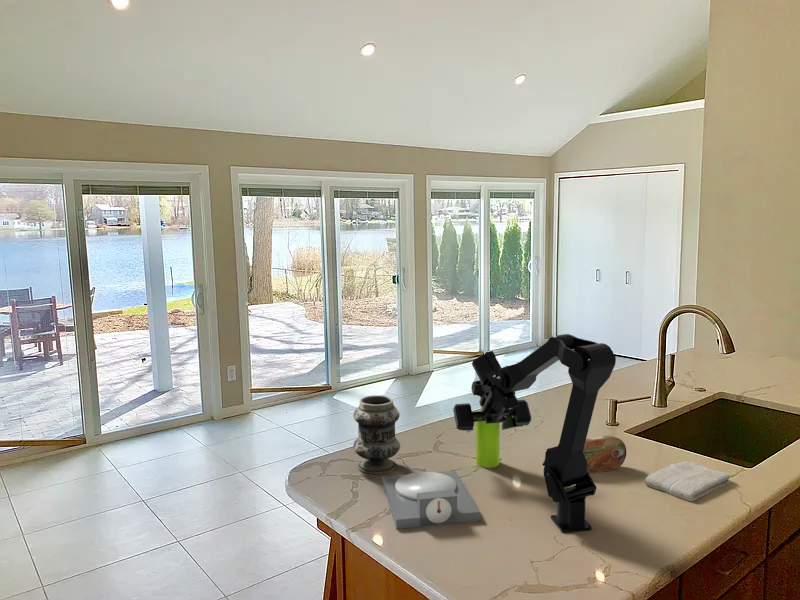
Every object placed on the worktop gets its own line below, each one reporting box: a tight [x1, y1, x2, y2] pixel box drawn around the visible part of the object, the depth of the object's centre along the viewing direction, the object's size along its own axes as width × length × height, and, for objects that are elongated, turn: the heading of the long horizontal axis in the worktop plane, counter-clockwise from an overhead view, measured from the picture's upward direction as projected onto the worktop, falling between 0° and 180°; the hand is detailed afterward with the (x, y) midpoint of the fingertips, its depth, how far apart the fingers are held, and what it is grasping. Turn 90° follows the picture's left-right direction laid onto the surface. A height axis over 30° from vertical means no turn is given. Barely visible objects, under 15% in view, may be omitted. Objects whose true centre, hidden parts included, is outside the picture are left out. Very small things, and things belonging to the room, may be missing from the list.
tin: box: [583, 435, 627, 475], centre depth 158 cm, size 15×3×8 cm, turn 105°
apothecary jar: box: [352, 394, 401, 475], centre depth 162 cm, size 12×12×18 cm
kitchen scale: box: [382, 470, 481, 530], centre depth 142 cm, size 22×18×6 cm
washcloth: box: [644, 460, 731, 502], centre depth 149 cm, size 12×18×3 cm, turn 126°
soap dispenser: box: [475, 406, 500, 469], centre depth 162 cm, size 6×7×20 cm
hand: (485, 429), depth 163 cm, fingers open, 9 cm apart
